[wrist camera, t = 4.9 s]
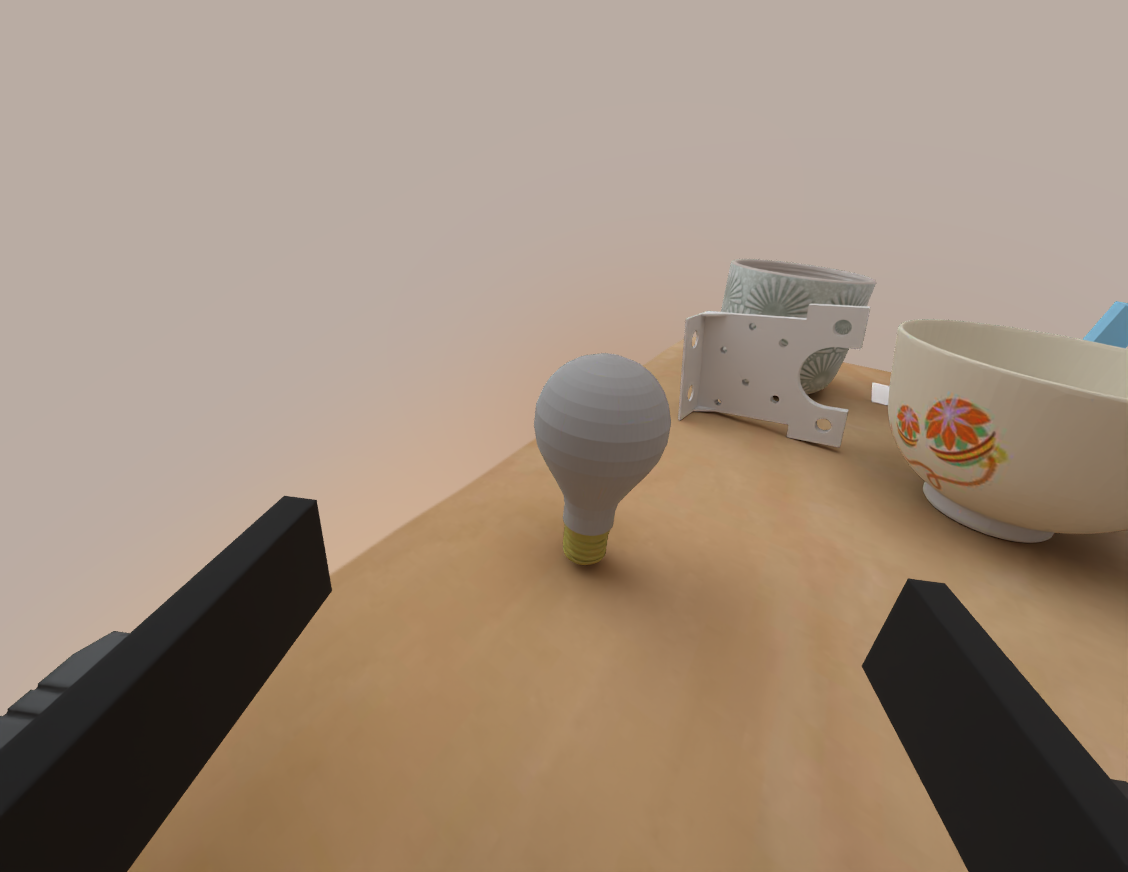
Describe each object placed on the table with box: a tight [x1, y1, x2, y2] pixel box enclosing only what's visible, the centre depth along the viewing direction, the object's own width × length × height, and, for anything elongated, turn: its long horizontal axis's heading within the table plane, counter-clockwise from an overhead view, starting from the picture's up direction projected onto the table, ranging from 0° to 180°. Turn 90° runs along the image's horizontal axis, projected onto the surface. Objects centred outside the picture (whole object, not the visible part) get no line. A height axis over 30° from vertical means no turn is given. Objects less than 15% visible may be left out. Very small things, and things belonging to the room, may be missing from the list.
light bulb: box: [534, 353, 671, 565], centre depth 21 cm, size 6×6×10 cm
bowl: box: [888, 319, 1128, 543], centre depth 28 cm, size 16×16×10 cm
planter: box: [721, 259, 876, 395], centre depth 47 cm, size 12×12×11 cm
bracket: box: [678, 304, 870, 447], centre depth 36 cm, size 11×4×10 cm, turn 54°
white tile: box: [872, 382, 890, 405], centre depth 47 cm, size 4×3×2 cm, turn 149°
